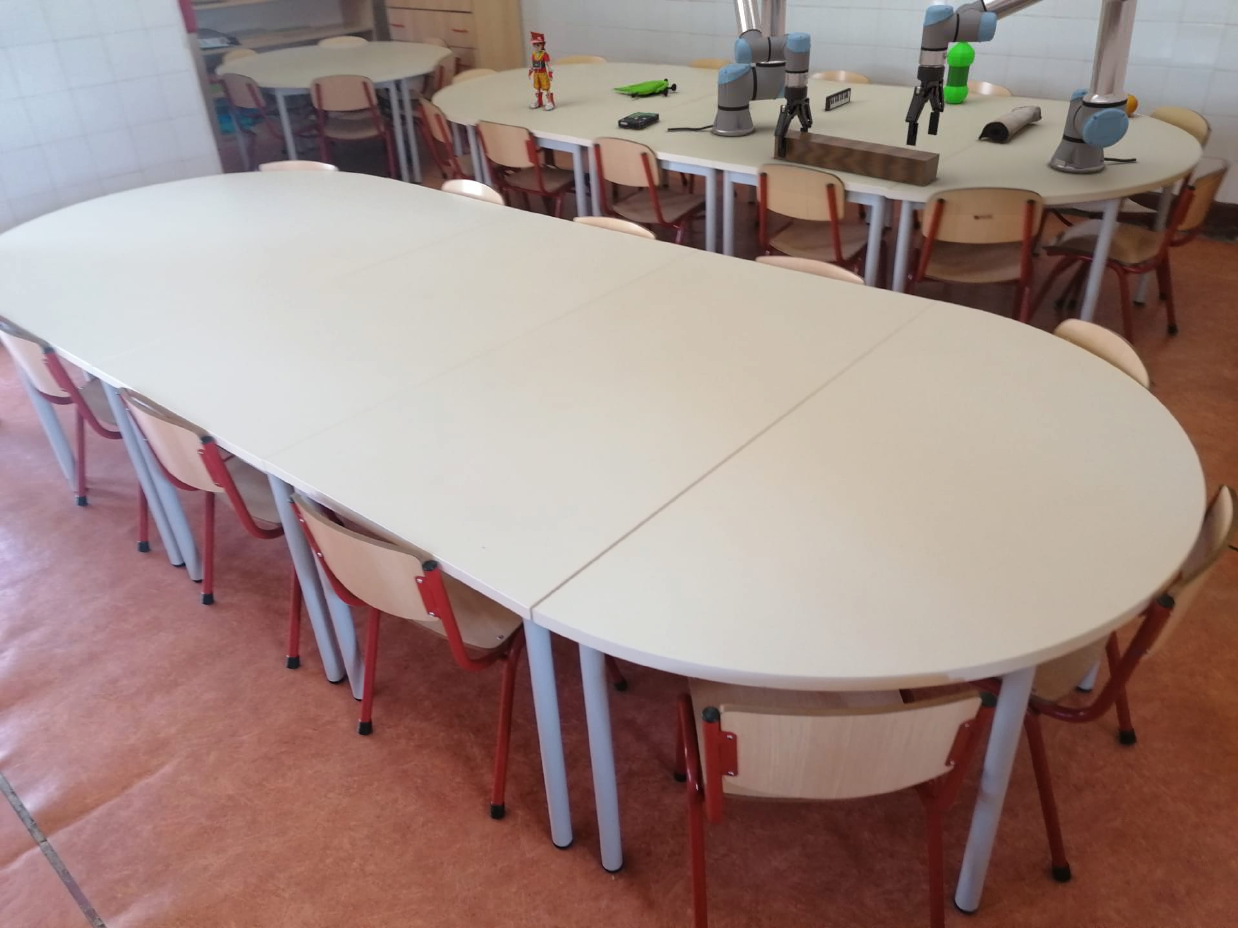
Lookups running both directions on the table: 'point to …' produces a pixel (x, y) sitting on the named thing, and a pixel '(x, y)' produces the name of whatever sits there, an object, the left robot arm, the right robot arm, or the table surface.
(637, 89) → the toy
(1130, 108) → the fruit
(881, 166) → the thick board
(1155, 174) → the table surface
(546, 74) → the toy
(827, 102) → the midi keyboard
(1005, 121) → the rolled mat
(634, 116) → the disk drive
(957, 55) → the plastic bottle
